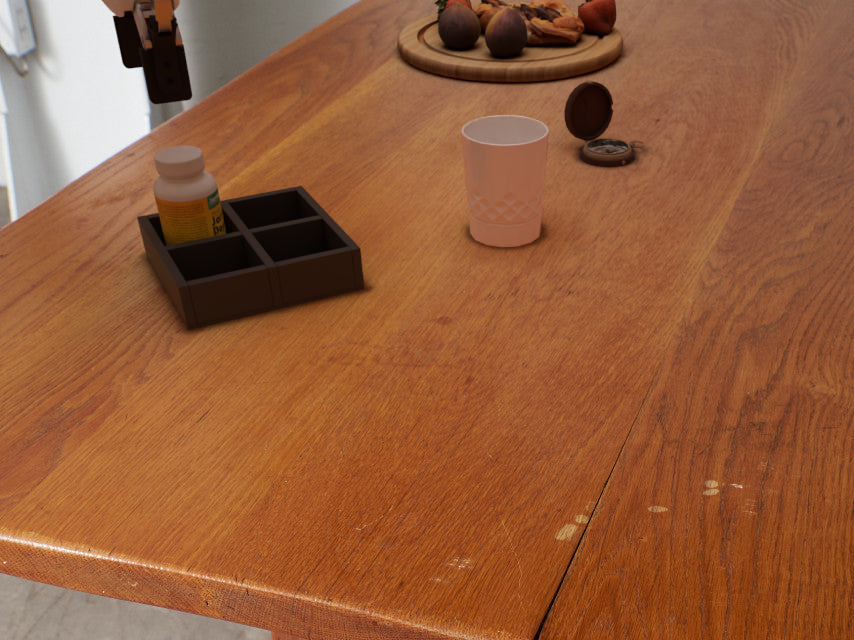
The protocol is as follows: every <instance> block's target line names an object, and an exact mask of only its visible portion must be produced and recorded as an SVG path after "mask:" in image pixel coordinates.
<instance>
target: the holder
mask: <svg viewBox="0 0 854 640" xmlns="http://www.w3.org/2000/svg"><path fill="white" fill-rule="evenodd" d="M220 203H221V208H222V214H223V218H224V224H225V229H226V234H223V235H218V236H214V237H209V238H204V239H199V240H194V241H189V242H184V243H179V244H174V245H169V246H166V243H165V238H164V234H163V230H162V225H161V221H160V217H159V213H158V212H155V213H150V214H143V215H139V216H137V217H136V219H137V223H138V228H139V231H140V235H141V239H142V242H143V247H144V251H145V255H146V258H147V260H148V262H149V264H150V265H151V267H152V269H153V270H154V272H155V274H156V276H157V277H158V279H159V281H160V283H161V285H162V286H163V289H165V290H164V291H166V293H167V295H168V297H169V299H170V301H171V302H172V304H173V306H174V308H175V310H176V311H177V313H178V315H179V317H180V319H181V320H182V322H183V324H184V325H185V327H186V329H187V331H192V330H197V329H201V328H204V327H208V326H209V327H210V326H214V325H217V324H223V323H226V322H230V321H234V320H240V319H243V318H248V317H251V316H255V315H256V316H257V315H260V314H261V315H262V314H264V313H269V312H274V311H277V310H278V311H279V310H281V309H286V308H290V307H296V306H298V305H304V304H307V303H312V302H315V301H316V302H317V301H321V300H324V299H328V298H333V297H337V296H341V295H346V294H351V293H355V292H359V291H363V290H365V281H364V279H365V278H364V270H363V261H362V250H361V247H360V246H359V244H357V243H356V241H354V240H353V239H352V238H351V236H349V234H348V233H347V232H346V231H345V230H344V229H343V228H342V227H341V226H340V225H339V224H338V223H337V221H336V220H334V218H333V217H332V216H330V214H329V213H328V212H327V211H326V210H325V209H324V208H323V207H322V206H321V204H319V202H317V201H316V199H315V198H314V197H312V195H311V194H310V193H309V192H308V191H307V190H306V189H305V188H304V186H303V185H299V186H292V187H288V188H281V189H276V190H271V191H265V192H260V193H256V194H255V193H254V194H250V195H245V196H239V197H234V198H228V199H224V200H220Z"/></svg>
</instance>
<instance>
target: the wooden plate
mask: <svg viewBox="0 0 854 640" xmlns="http://www.w3.org/2000/svg"><path fill="white" fill-rule="evenodd" d="M434 5H436V6H435V7H438V8H437V12H436V13H435V14H432V15H428V16H425V17H422V18H420V19H417V20H415V21H413V22H411V23H410V24H408V25H407V26H405V27H404V28H403V29H402V30H401V31H400V32H399V35H398V37H397V40H396V41H397V43H396V46H397V47H396V48H397V50H398V52H399V54H400V56H401V57H402V59H404V60H405V61H406V62H407V63H409V64H410V65H412V66H414V67H416V68H417V69H419V70H422V71H425V72H428V73H431V74H434V75H439V76H443V77H448V78H449V77H450V78H455V79H461V80H468V81H469V80H470V81H477V82H478V81H479V82H493V83H494V82H495V83H526V82H544V81H553V80H559V79H565V78H570V77H574V76H579V75H584V74H587V73H590V72H594V71H596V70H599V69H602V68H604V67H606V66H608V65H609V64H611V63H612V62H614V61H616V59H617V58H618V57H619V56H620V54H621V53H622V51H623V47H624V38H623V36H622V32H620V30H619V29H618V28H617V27H616V26H615V24H616V22H617V3H616V0H585V2H583V3H581V4H580V5H577V11H573V10H572V9H571V7H570V6H569V4H568V3H566V2H565V1H564V0H531V1H530V2H523V1H521V2H517V3H514V2H506V1H502V0H480V2H478V3H476V4H475V5H474V7H473V5H472V1H471V0H437V1H435V2H434Z"/></svg>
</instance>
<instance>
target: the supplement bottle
mask: <svg viewBox="0 0 854 640" xmlns="http://www.w3.org/2000/svg"><path fill="white" fill-rule="evenodd" d="M153 159H154V165H155V170H156V172H157V173H158V175H159V176H157V178H156V179H155V181H154V182H153V186H152V188H153V189H152V190H153V196H154V201H155V204H156V209H157V213H159V217H160V221H161V225H162V230H163V234H164V238H165V243H166V246H169V245H174V244H179V243H184V242H189V241H194V240H199V239H204V238H209V237H214V236H218V235H223V234H226V229H225V224H224V218H223V214H222V208H221V203H220V201H221V199H220V193H219V188H218V187H219V186H218V183H217V181H216V179H215V177H214V176H213V174H211V173H209V171H207V170H205V168H206V161H205V157H204V153H203V151H202V149H201V148H199V147H198V146H195V145H194V146H193V145H173V146H169V147H165V148H162V149H160V150H157V152H155V154H154V155H153Z"/></svg>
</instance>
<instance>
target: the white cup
mask: <svg viewBox="0 0 854 640" xmlns="http://www.w3.org/2000/svg"><path fill="white" fill-rule="evenodd" d="M460 132H461V145H462V146H461V147H462V160H463V171H464V172H463V173H464V184H465V186H464V187H465V189H466V190H465V191H466V194H465V195H466V203H467V204H466V205H467V208H468V221H469V233H470V235H471V236H472V238H473V239H474V241H476V242H479V243H481V244H484V245H486V246H489V247H490V246H491V247H497V248H498V247H499V248H511V247H520V246H525V245H527V244H528V245H529V244H530V243H531V244H532V243H533V242H534V241H535V240H537V239H538V238H540V234H541V227H542V214H543V213H542V212H543V209H544V200H545V199H544V198H545V193H546V179H547V165H548V149H549V148H548V147H549V136H550V134H549V133H550V129H549V127H548V125H547V124H546V123H545V122H542V121H541V120H538V119H536V118H533V117H529V116H524V115H516V114H495V115H487V116H481V117H478V118H474V119H472V120H469V121H468V122H466V123H464V124H463V126H462V127H461V129H460Z"/></svg>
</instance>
